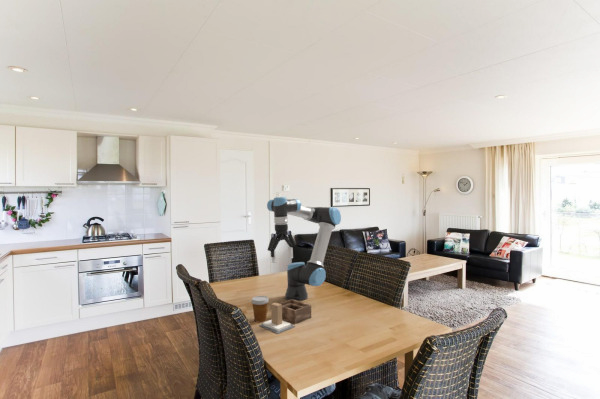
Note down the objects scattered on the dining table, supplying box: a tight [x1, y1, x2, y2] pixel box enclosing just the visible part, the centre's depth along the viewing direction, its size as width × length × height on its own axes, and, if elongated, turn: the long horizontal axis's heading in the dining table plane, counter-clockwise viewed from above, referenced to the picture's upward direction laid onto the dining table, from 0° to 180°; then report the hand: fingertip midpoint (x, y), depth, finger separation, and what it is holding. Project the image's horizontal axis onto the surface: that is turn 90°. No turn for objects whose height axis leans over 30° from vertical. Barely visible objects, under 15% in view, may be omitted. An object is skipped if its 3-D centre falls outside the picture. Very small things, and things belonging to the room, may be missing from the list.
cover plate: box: [262, 302, 292, 331], centre depth 173 cm, size 12×9×11 cm
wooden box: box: [277, 299, 312, 325], centre depth 186 cm, size 16×13×7 cm
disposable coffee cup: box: [251, 295, 270, 323], centre depth 183 cm, size 10×10×12 cm
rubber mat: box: [258, 323, 296, 335], centre depth 173 cm, size 15×12×1 cm
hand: (282, 260), depth 192 cm, fingers open, 13 cm apart
